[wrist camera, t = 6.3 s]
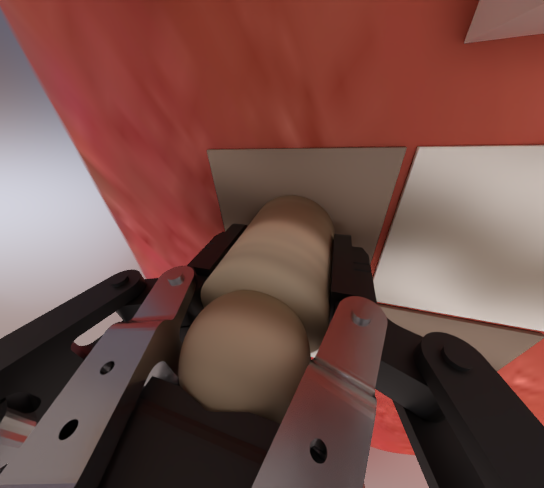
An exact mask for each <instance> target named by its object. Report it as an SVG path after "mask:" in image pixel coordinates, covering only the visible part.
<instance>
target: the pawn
mask: <svg viewBox="0 0 544 488" xmlns="http://www.w3.org/2000/svg"><path fill="white" fill-rule="evenodd" d="M333 239H334V226H333V223H332V220H331V218H330V217H329V215H328V213H327V212H326V211H325V210H324V209H323V208H322V207H321V206H320V205H318V204H317V203H316V202H314V201H312V200H310V199H307V198H305V197H301V196H294V195H287V196H281V197H277V198H275V199H272V200H271V201H269V202H268V203H266V204H265V205H264V206H263V207H262V208H261V210H260V211H259V212H258V214H257V215H256V216H255V217H254V219H253V220H252V221H251V223H250V224H249V225H248V227H247V228H246V229H245V230H244V232H243V233H242V234H241V236H240V237H239V238H238V240H237V241H236V242H235V243H234V245H233V246H232V247H231V249H230V250H229V251H228V253H227V254H226V255H225V256H224V258H223V259H222V260H221V262H220V263H219V264H218V266H217V267H216V268H215V270H214V271H213V272H212V273H211V275H210V276H209V277H208V279H207V280H206V281H205V283H204V284H203V286H202V289H201V301H202V304H203V307H204V309H203V310H202V311H201V312H200V313H199V314H198V316H197V317H196V318H195V320H194V321H193V323H192V324H191V326H190V328H189V329H188V331H187V334H186V336H185V338H184V341H183V344H182V348H181V352H180V358H179V369H178V374H179V384H180V386H181V387H182V388H183V389H184V390H185V391H186V392H187V393H188V394H189V395H190V396H191V397H192V398H193V399H194V400H196V401H197V402H198V403H199V404H200V405H201V406H202V407H203V408H204V409H205V410H207V411H211V412H250V413H253V414H255V415H258V416H261V417H263V418H266V419H269V420H271V421H274V422H277V423H279V424H281V422H282V420H283V418H284V416H285V414H286V412H287V409H288V407H289V405H290V403H291V401H292V399H293V396H294V394H295V392H296V390H297V388H298V386H299V383H300V381H301V379H302V377H303V375H304V373H305V370H306V368H307V366H308V365H309V363H310V361H311V354H310V353H312V352H315V351H317V350H318V349H319V347H320V345H321V343H322V341H323V338H324V336H325V334H326V332H327V329H328V327H329V316H330V305H329V298H330V283H331V268H332V252H333Z"/></svg>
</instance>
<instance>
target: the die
mask: <svg viewBox="0 0 544 488" xmlns="http://www.w3.org/2000/svg"><path fill="white" fill-rule="evenodd" d="M536 34H544V0H479V3H478V6H477V8H476V11H475V14H474V17H473V19H472V22H471V25H470V27H469V30H468V33H467V36H466V38H465V41H464V43H472V42H480V41H488V40H496V39H504V38H512V37H520V36H528V35H536Z"/></svg>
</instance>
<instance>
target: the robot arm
mask: <svg viewBox="0 0 544 488" xmlns="http://www.w3.org/2000/svg"><path fill="white" fill-rule="evenodd" d="M247 227H248V225H245V224H235V223H234V224H232V225H231V226H230V227H229V228H228V229H227V230H226V231H225V232H222V233H220V234H218V235H216V236H215V237H214V238H213V239H212V240H211V241H210V242H209V243H208V244H207V245H206V246H205V248H203V249H202V250H201V251H200V252H199V254H198V255H197V256H196V257H195V258H194V259H193V260H192V261H191V262H190V263H189V264H188V265H187V266H178V267H174V268H172V269H170V270H168V271H166V272H165V273H163V274H162V275H161V276H160V277H159V278H154V279H144V278H143V277H142V275H141V274H140V272H139V271H137V270H127V271H123V272H120V273H117V274H115V275H113V276H111V277H110V278H108V279H106V280H104V281H102V282H101V283H99V284H97V285H95V286H94V287H92V288H90V289H88V290H86V291H85V292H83V293H81V294H79V295H78V296H76V297H74V298H72V299H70V300H69V301H67V302H65V303H63V304H61V305H60V306H58V307H56V308H54V309H53V310H51V311H49V312H47V313H45V314H44V315H42V316H40V317H38V318H37V319H35V320H33V321H31V322H30V323H28V324H26V325H24V326H22V327H21V328H19V329H17V330H15V331H13V332H12V333H10V334H8V335H6V336H5V337H3V338H1V339H0V488H363V484H364V478H365V473H366V467H367V461H368V456H369V450H370V444H371V438H372V433H373V427H374V421H375V415H376V405H377V401H376V397H375V389H377V390H378V391H380V392H381V393H383V394H384V395H386V396H387V397H389V398H391V399H392V400H393V403H394V405H395V407H396V410H397V412H398V415H399V417H400V419H401V422H402V424H403V427H404V429H405V431H406V434H407V436H408V438H409V441H410V443H411V446H412V448H413V450H414V453H415V455H416V457H417V460H418V462H419V465H420V467H421V469H422V472H423V474H424V477H425V479H426V481H427V484H428V486H429V488H544V426H543V425H542V424H541V423H540V421H539V420H538V419H537V418H536V417H535V416H534V414H533V413H532V412H531V411H530V410H529V409H528V408H527V406H526V405H525V404H524V403H523V402H522V401H521V399H520V398H519V397H518V396H517V395H516V394H515V392H514V391H513V390H512V389H511V388H510V387H509V385H508V384H507V383H506V382H505V381H504V380H503V378H502V377H501V376H500V375H499V374H498V373H497V371H496V370H495V369H494V368H493V367H492V366H491V364H490V363H489V362H488V361H487V360H486V359H485V358H484V356H483V355H482V354H481V353H480V352H479V351H477V350H476V349H475V348H474V347H473V346H471V345H470V344H469V343H467V342H465V341H464V340H462V339H460V338H458V337H456V336H453V335H451V334H448V333H443V332H431V333H428V334H426V335H425V336H424V337H422V336H420V335H418V334H415V333H413V332H411V331H409V330H407V329H404V328H402V327H400V326H398V325H397V324H395V323H393V322H392V321H391V320H389V319H388V318H387V317H386V315H385V313H384V311H383V310H382V309H381V308H380V307H379V306H378V304H377V300H376V295H375V289H374V283H373V277H372V273H371V266H370V260H369V255H368V254H367V253H366V251H365V250H364V249H363V248H362V247H354V246H352V240H351V235H343V234H334V239H333V252H332V268H331V283H330V298H329V305H330V316H329V327H328V329H327V332H326V334H325V336H324V338H323V341H322V343H321V345H320V347H319V350H318V352H317V354H316V356H315V358H314V359H312V360H311V361H310V363H309V365H308V366H307V368H306V370H305V373H304V375H303V377H302V379H301V381H300V383H299V386H298V388H297V390H296V392H295V394H294V396H293V399H292V401H291V403H290V405H289V407H288V409H287V412H286V414H285V416H284V418H283V420H282V422H281V424H279V423H277V422H274V421H271V420H269V419H266V418H263V417H261V416H258V415H255V414H253V413H250V412H211V411H207V410H205V409H204V408H203V407H202V406H201V405H200V404H199V403H198V402H197V401H196V400H194V399H193V398H192V397H191V396H190V395H189V394H188V393H187V392H186V391H185V390H184V389H183V388H182V387H181V386H180V384H179V374H178V369H179V358H180V352H181V348H182V344H183V341H184V338H185V336H186V334H187V331H188V329H189V328H190V326H191V324H192V323H193V321H194V320H195V318H196V317H197V316H198V314H199V313H200V312H201V311H202V310H203V309H204V307H203V304H202V301H201V289H202V286H203V284H204V283H205V281H206V280H207V279H208V277H209V276H210V275H211V273H212V272H213V271H214V270H215V268H216V267H217V266H218V264H219V263H220V262H221V260H222V259H223V258H224V256H225V255H226V254H227V253H228V251H229V250H230V249H231V247H232V246H233V245H234V243H235V242H236V241H237V240H238V238H239V237H240V236H241V234H242V233H243V232H244V230H245V229H246V228H247ZM115 311H116V312H117V313H118V315H119V316H120V317H121V318H122V319H123V321H122V322H118V323H115V324H113V325H112V326H110V327H109V328H108V329H107V330H106V332H105V333H104V334H103V335H102V336H101V337H100V338H98V339H97V340H96V341H94V342H93V343H91V344H89V345H86V346H78V345H77V344H76V343H74V342H73V341H74V340H75V339H76V338H77V337H78V336H80V335H81V334H83V333H84V332H86V331H87V330H88V329H90V328H92V327H93V326H95V325H96V324H98V323H99V322H100V321H102V320H103V319H105V318H106V317H108V316H109V315H111V314H112V313H114V312H115ZM8 462H9V463H8ZM7 463H8V464H7Z"/></svg>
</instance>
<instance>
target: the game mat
mask: <svg viewBox="0 0 544 488" xmlns="http://www.w3.org/2000/svg"><path fill="white" fill-rule="evenodd" d="M406 149H407V147H343V148H270V149H208V150H207V154H208V158H209V163H210V167H211V172H212V176H213V180H214V185H215V189H216V193H217V198H218V202H219V206H220V211H221V215H222V219H223V224H224V228H225V231H226V230H227V229H228V228H229V227H230V226H231V225H232V224H234V223H235V224H245V225H249V224H250V223H251V221H252V220H253V219H254V217H255V216H256V215H257V214H258V212H259V211H260V210H261V208H262V207H263V206H264V205H265V204H266V203H268V202H269V201H271V200H272V199H275V198H277V197H281V196H287V195H294V196H301V197H305V198H307V199H310V200H312V201H314V202H316V203H317V204H318V205H320V206H321V207H322V208H323V209H324V210H325V211H326V212H327V213H328V215H329V217H330V218H331V220H332V223H333V226H334V234H343V235H351V240H352V246H354V247H362V248H363V249H364V250H365V251H366V253H367V254H368V255H369V260H370V264H371V261H372V258H373V254H374V251H375V248H376V245H377V241H378V238H379V235H380V232H381V229H382V225H383V222H384V219H385V216H386V213H387V209H388V206H389V203H390V200H391V197H392V193H393V190H394V187H395V184H396V181H397V177H398V174H399V171H400V168H401V165H402V161H403V158H404V155H405V152H406ZM373 283H374V289H375V295H376V300H377V302H382V303H388V304H393V305H399V306H404V307H410V308H416V309H421V310H427V311H432V312H438V313H444V314H449V315H455V316H460V317H466V318H472V319H477V320H483V321H489V322H494V323H500V324H505V325H511V326H517V327H522V328H528V329H533V330H539V331H544V145H489V146H418V147H417V150H416V153H415V156H414V159H413V161H412V164H411V167H410V170H409V173H408V176H407V179H406V182H405V185H404V188H403V191H402V194H401V197H400V200H399V203H398V206H397V208H396V211H395V214H394V217H393V220H392V223H391V226H390V229H389V232H388V235H387V238H386V241H385V244H384V247H383V250H382V253H381V255H380V258H379V261H378V264H377V267H376V270H375V273H374V276H373ZM378 306H379V307H380V308H381V309H382V310H383V311H384V313H385V315H386V317H387V318H388V319H389V320H391V321H392V322H393V323H395V324H397V325H398V326H400V327H402V328H404V329H407V330H409V331H411V332H413V333H415V334H418V335H420V336H422V337H424V336H425V335H426V334H428V333H431V332H443V333H448V334H451V335H453V336H456V337H458V338H460V339H462V340H464V341H465V342H467V343H469V344H470V345H471V346H473V347H474V348H475V349H476V350H477V351H479V352H480V353H481V354H482V355H483V356H484V358H485V359H486V360H487V361H488V362H489V363H490V364H491V366H492V367H493V368H494V369H495V370H496V371H498V370H500V369H501V368H502V367H504V366H505V365H507V364H508V363H509V362H511V361H512V360H514V359H515V358H516V357H518V356H519V355H521V354H522V353H523V352H525V351H526V350H528V349H529V348H530V347H532V346H533V345H535V344H536V343H537V342H539V341H540V340H542V339H543V338H544V335H543V334H542V333H537V332H532V331H526V330H521V329H515V328H510V327H504V326H499V325H493V324H487V323H482V322H476V321H471V320H465V319H460V318H454V317H449V316H443V315H438V314H432V313H427V312H421V311H416V310H410V309H404V308H399V307H393V306H388V305H382V304H378ZM318 350H319V349H318ZM318 350H317V351H315V352H312V353H310V354H311V357H315V356H316V354H317V352H318Z"/></svg>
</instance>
